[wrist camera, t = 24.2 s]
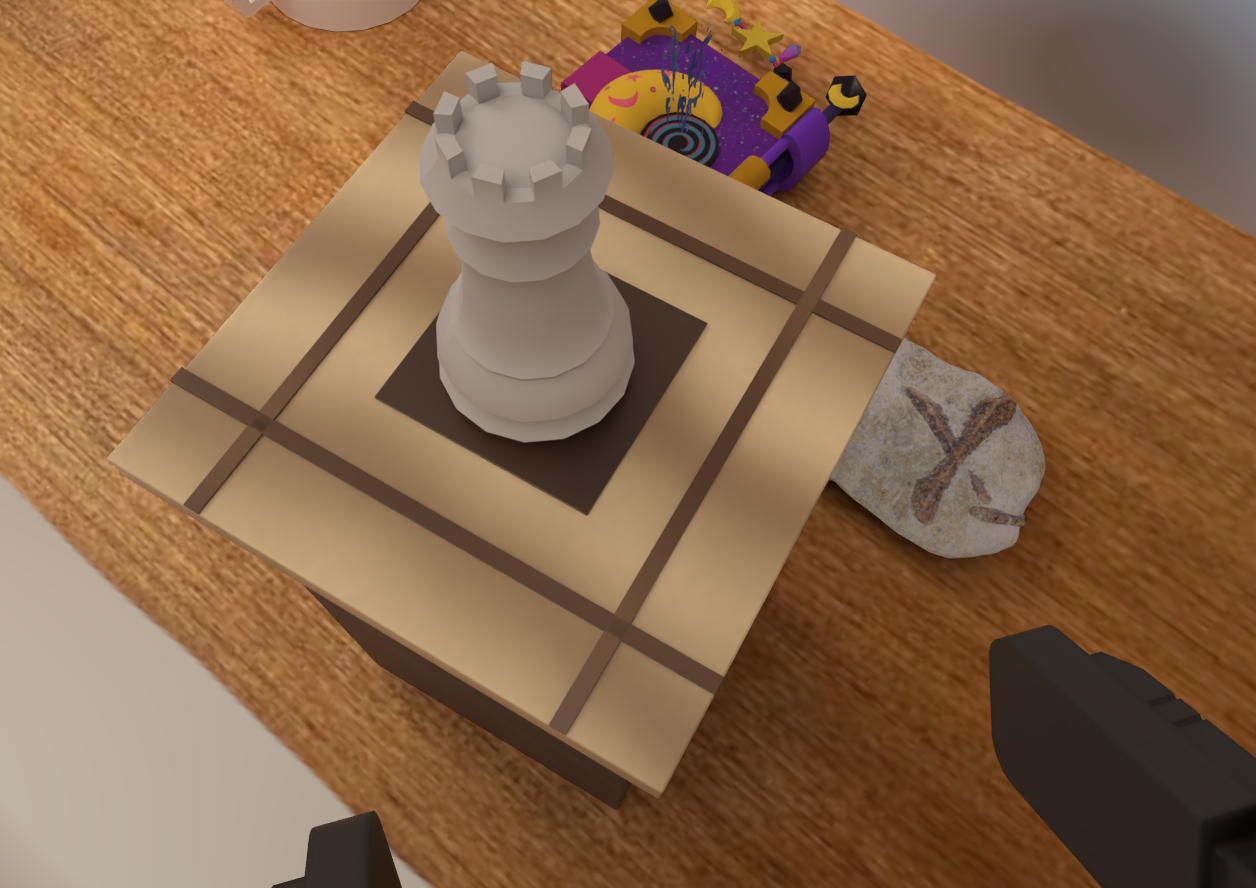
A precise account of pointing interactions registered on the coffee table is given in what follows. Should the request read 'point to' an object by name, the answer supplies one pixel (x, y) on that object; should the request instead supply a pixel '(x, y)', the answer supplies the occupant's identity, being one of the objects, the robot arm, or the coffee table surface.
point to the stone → (943, 457)
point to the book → (713, 97)
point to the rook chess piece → (525, 257)
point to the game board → (541, 470)
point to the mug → (331, 12)
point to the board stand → (483, 709)
